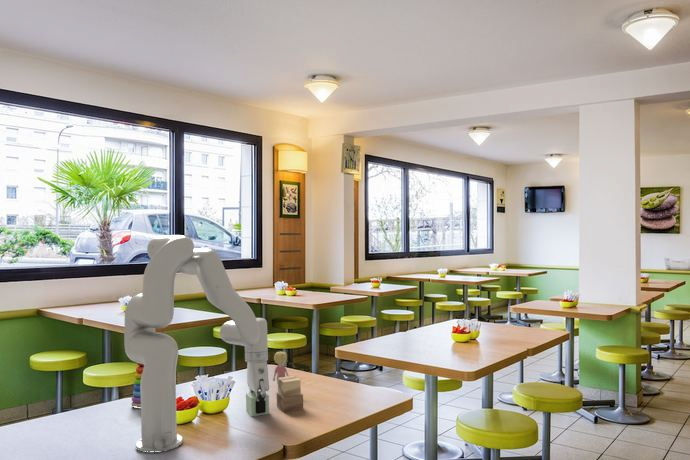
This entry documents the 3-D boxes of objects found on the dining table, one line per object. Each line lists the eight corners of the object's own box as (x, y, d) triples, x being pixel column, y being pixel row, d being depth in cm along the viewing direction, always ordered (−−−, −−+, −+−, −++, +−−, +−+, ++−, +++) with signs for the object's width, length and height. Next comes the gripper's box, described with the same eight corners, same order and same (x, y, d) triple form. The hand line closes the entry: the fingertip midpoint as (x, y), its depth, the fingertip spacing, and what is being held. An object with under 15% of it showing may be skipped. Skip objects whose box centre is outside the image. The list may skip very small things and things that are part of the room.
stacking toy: (150, 409, 190) (149, 354, 190) (127, 410, 190) (126, 355, 190) (158, 402, 198) (157, 350, 198) (136, 403, 198) (135, 350, 198)
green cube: (269, 413, 183) (268, 395, 183) (251, 416, 180) (251, 398, 180) (263, 408, 188) (263, 390, 188) (246, 411, 186) (246, 393, 186)
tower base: (303, 409, 186) (303, 394, 186) (283, 413, 183) (283, 397, 183) (296, 404, 193) (295, 389, 193) (276, 407, 190) (276, 392, 190)
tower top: (300, 394, 187) (300, 379, 187) (283, 397, 184) (283, 382, 184) (294, 390, 192) (294, 375, 192) (278, 392, 190) (277, 378, 190)
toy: (291, 390, 210) (290, 350, 210) (288, 393, 205) (287, 353, 205) (274, 389, 210) (273, 350, 211) (271, 393, 206) (270, 353, 206)
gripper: (275, 359, 178) (276, 415, 178) (259, 349, 194) (260, 401, 194) (252, 362, 175) (254, 419, 175) (238, 352, 190) (239, 404, 190)
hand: (257, 409), depth 184 cm, fingers closed on green cube, 6 cm apart
